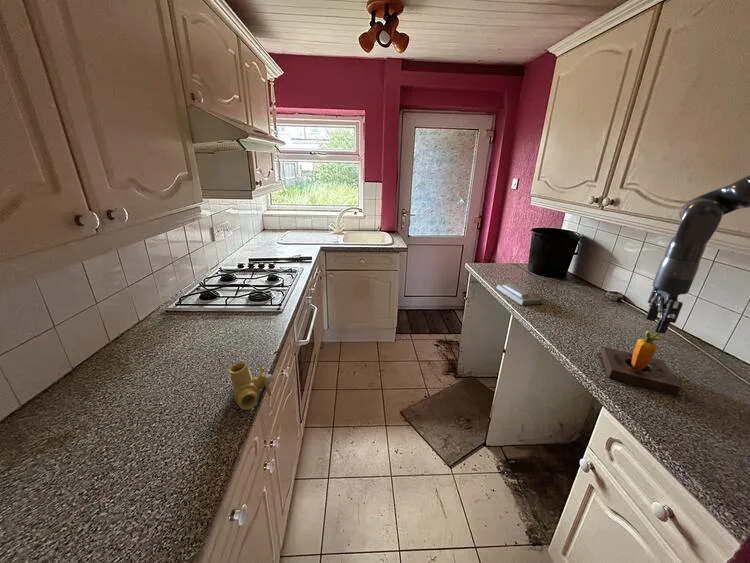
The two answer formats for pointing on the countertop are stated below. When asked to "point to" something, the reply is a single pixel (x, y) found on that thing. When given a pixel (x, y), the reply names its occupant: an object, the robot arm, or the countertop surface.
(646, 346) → the carrot
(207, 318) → the countertop surface
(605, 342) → the countertop surface
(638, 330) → the countertop surface
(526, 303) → the soap mold
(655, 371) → the socket board
